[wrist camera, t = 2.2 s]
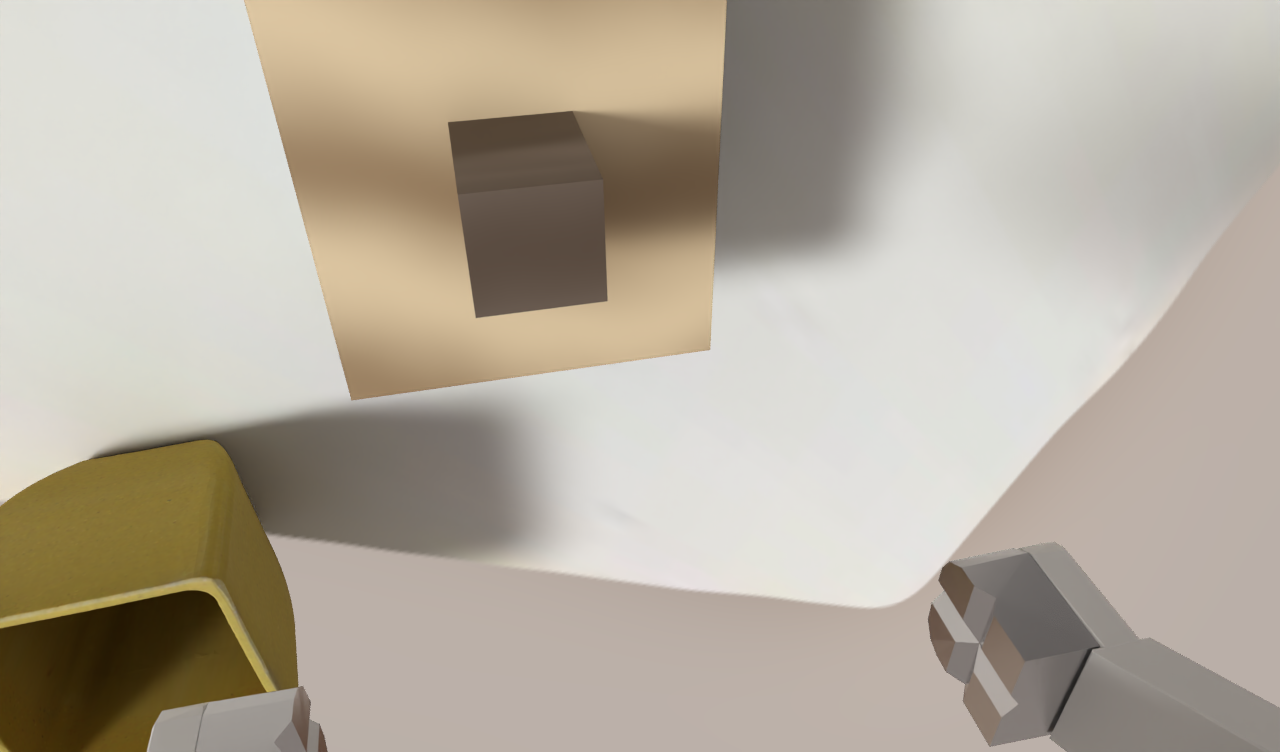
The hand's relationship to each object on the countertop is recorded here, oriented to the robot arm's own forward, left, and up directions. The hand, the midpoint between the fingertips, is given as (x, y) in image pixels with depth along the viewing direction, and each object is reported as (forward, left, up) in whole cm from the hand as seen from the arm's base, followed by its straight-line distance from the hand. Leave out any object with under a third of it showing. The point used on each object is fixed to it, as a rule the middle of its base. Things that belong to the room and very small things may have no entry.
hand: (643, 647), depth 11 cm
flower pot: (+15, -14, -21) cm, 30 cm away
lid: (0, 0, -16) cm, 16 cm away
